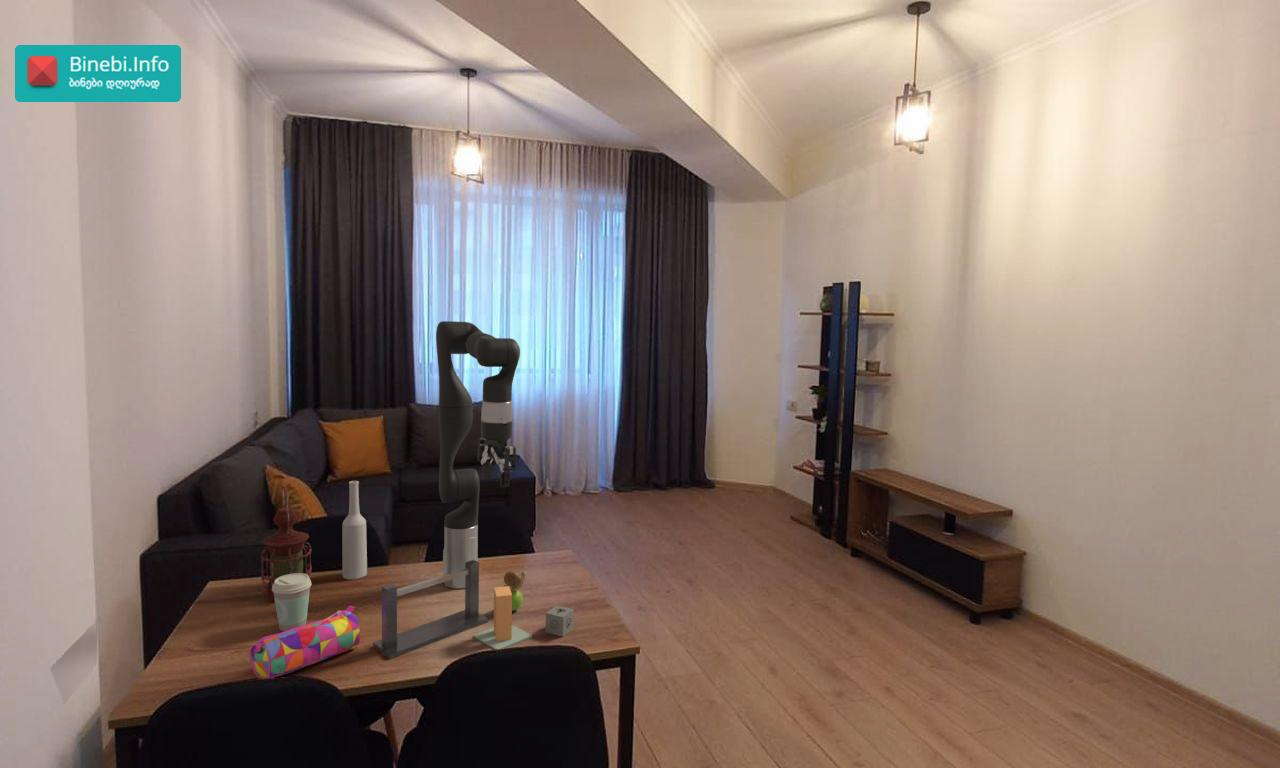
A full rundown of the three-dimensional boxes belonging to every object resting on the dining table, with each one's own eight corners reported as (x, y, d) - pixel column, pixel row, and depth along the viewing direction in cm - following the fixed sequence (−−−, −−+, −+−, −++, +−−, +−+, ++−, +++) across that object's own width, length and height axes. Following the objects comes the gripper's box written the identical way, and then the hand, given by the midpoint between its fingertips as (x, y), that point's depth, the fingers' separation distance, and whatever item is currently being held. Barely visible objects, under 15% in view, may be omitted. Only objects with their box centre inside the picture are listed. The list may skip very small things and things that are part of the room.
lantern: (316, 597, 177) (314, 488, 174) (265, 608, 170) (262, 494, 167) (307, 582, 187) (305, 479, 184) (258, 592, 180) (255, 484, 177)
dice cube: (573, 628, 164) (573, 609, 164) (563, 637, 160) (563, 617, 159) (556, 624, 166) (556, 605, 166) (545, 632, 162) (545, 613, 161)
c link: (493, 630, 161) (494, 587, 160) (508, 629, 162) (509, 586, 161) (496, 641, 155) (496, 596, 154) (511, 639, 157) (512, 594, 156)
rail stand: (372, 646, 152) (372, 583, 151) (469, 612, 171) (469, 556, 170) (389, 659, 147) (389, 594, 145) (487, 622, 166) (488, 564, 165)
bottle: (350, 570, 197) (349, 478, 194) (371, 571, 196) (370, 479, 193) (337, 578, 190) (336, 483, 188) (359, 580, 189) (358, 485, 187)
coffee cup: (274, 621, 163) (273, 574, 162) (313, 616, 166) (312, 570, 165) (270, 637, 155) (269, 588, 154) (311, 631, 158) (310, 583, 157)
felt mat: (473, 636, 158) (473, 635, 158) (507, 623, 166) (507, 621, 166) (497, 651, 152) (497, 649, 152) (532, 636, 159) (532, 635, 159)
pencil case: (342, 637, 156) (341, 600, 156) (366, 649, 151) (365, 611, 150) (246, 676, 138) (245, 635, 138) (269, 691, 133) (268, 648, 132)
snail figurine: (521, 615, 170) (522, 571, 169) (498, 612, 171) (499, 568, 170) (529, 607, 175) (530, 563, 174) (506, 604, 177) (507, 561, 176)
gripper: (468, 415, 165) (467, 478, 167) (498, 424, 155) (497, 491, 157) (494, 413, 170) (493, 474, 172) (525, 422, 160) (524, 486, 162)
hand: (495, 482), depth 164 cm, fingers open, 8 cm apart
